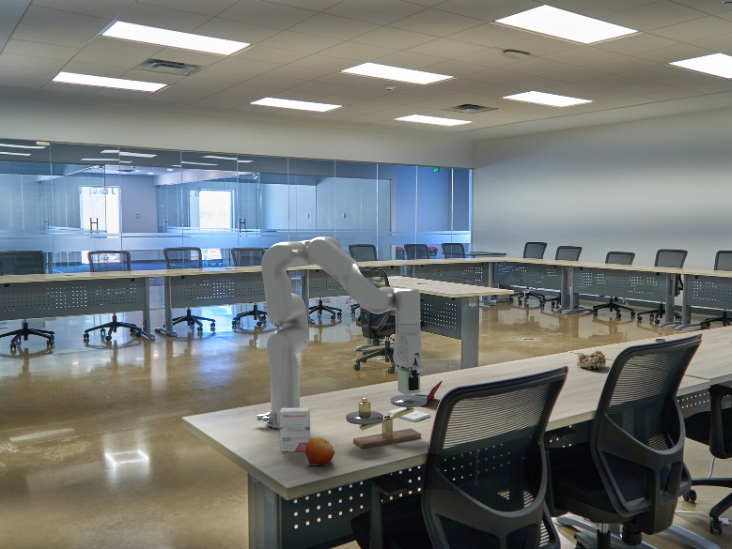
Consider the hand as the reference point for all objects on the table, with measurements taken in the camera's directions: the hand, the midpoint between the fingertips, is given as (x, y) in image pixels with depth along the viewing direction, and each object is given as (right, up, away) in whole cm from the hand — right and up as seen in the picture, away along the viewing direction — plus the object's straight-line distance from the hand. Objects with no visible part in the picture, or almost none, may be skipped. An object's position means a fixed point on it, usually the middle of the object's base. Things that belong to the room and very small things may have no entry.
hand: (408, 387), depth 185 cm
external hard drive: (+2, -15, +22) cm, 27 cm away
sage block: (0, -1, 0) cm, 1 cm away
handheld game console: (+8, -13, +39) cm, 42 cm away
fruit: (-26, -17, -20) cm, 37 cm away
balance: (-7, -16, -2) cm, 17 cm away
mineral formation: (+89, -8, +89) cm, 126 cm away
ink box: (-34, -17, -9) cm, 38 cm away
